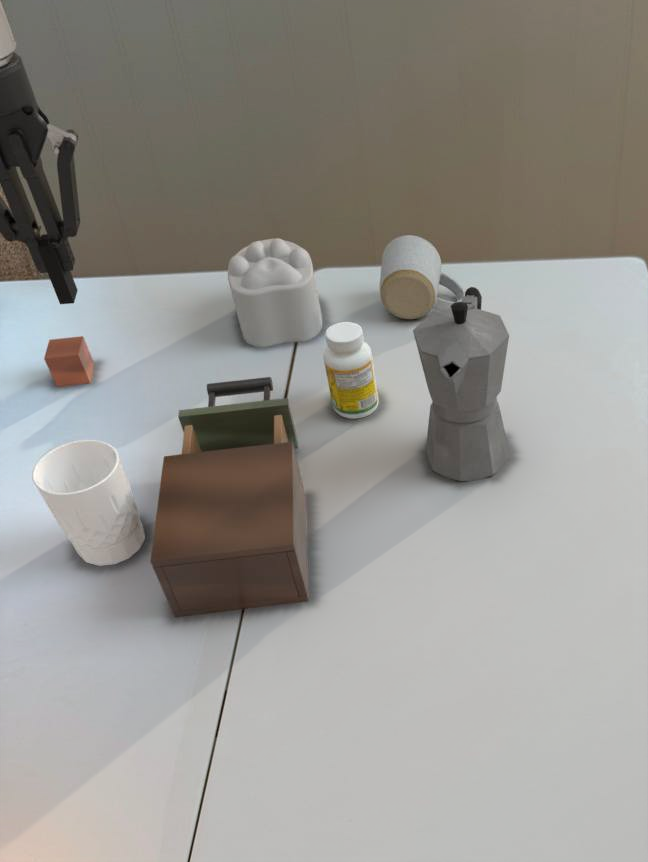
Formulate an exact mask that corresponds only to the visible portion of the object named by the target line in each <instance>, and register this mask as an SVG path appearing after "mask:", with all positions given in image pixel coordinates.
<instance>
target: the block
mask: <svg viewBox="0 0 648 862" xmlns="http://www.w3.org/2000/svg"><path fill="white" fill-rule="evenodd" d="M43 359H44V362H45V364H46V366H47V368H48V371H49V373H50V375H51V377H52V379H53V381H54V383H55V386H56V387H57V388H59V387H69V386H77V385H79V386H80V385H87V384H91V383H92V378H93V373H94V369H95V365H96V364H95V362H94V359H93V356H92V354H91V352H90V350H89V347H88V344H87V342H86V340H85V337H84V335H80V336H72V337H63V338H61V337H60V338H53V339H49V340H48V343H47V347H46V350H45V353H44V357H43Z"/></svg>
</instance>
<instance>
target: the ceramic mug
mask: <svg viewBox="0 0 648 862" xmlns="http://www.w3.org/2000/svg"><path fill="white" fill-rule="evenodd" d="M439 285H440V286H443V287H444V288H447V289H448V290H449V291H451V292H452V293H453V294H454V295H455V296H456V301H448V300H446V299H443V298H439V297H438V292H439ZM465 292H466V291H465V289H464V287H463V286H462V285H461V284H460V283H459V282H458V281H456V280H455V279H454V278H453V277H451V276H449V274H445V273H443V272H442V260H441V255H440V253H439V252H438V250H437V249H436V247H435V246H434V245H433V243H431V242H430V241H428V240H427V239H424V238H423V237H421V236H417V235H410V234H407V235H401V236H398V237H396V238H394V239H392V240H391V241H390V242H389V243H388V244H387V245H386V246H385V248H384V250H383V252H382V256H381V265H380V278H379V296H380V299H381V302H382V304H383V306H384V307H385V309H386V310H387V311H388V312H389V313H390V314H392V315H393V316H395V317H397V318H400V319H403V320H416V319H420V318H422V317H424V316H426V315H427V314H428V313H430V311H431V310H432V309H436V310H438V311H442V310H448V309H451V305H452V304H453V303H455V302H461V301H462V298H463V296H465Z"/></svg>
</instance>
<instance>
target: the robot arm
mask: <svg viewBox="0 0 648 862" xmlns="http://www.w3.org/2000/svg"><path fill="white" fill-rule="evenodd" d="M16 49H17V42H16V39H15V37H14V34H13V30H12V28H11V26H10V23H9V21H8V17H7V15H6V12H5V10H4V7H3V4H2V1H1V0H0V187H1V189H2V192H3V194H4V197H5V199H6V202H7V203H6V202H5V200H4V199H3V196H1V195H0V235H1V236H2V238H3V239H4V240H5V241H7V242H10V243H11V242H15V241H17V242H20V243H23V244H24V245H25V246H26V247H27V249H28V250H29V253H30V256H31V259H32V261H33V263H34V266H35V268H36V270H37V272H39V273H40V274H47V276H48V278H49V280H50V282H51V285H52V288H53V290H54V292H55V295H56V297H57V300H58V302H59V305H70V304H75V301H76V297H77V294H78V287H77V284H76V282H75V280H74V277H73V274H72V271H74V269H75V265H76V257H75V255H74V253H73V249H72V247H71V244H70V241H69V238H74V237H76V236H77V234H78V231H79V228H80V224H81V213H80V205H79V204H80V203H79V194H78V185H77V173H76V165H75V152H76V151H75V150H76V149H77V145H78V141H79V134H78V133H77V131H76V130H74V129H67V130H66V131H65V130H63V129H62V128H59V127H57V126H55V125H53V124H52V123H50V120H49V118H48V116H47V115H46V113H44V112H43V110H42V109H41V107H40V106H39V105H38V103H37V98H36V95H35V93H34V90H33V88H32V85H31V83H30V79H29V76H28V73H27V71H26V68H25V65H24V62H23V59H22V57H21V55H19V54H17V53H16V52H15V51H16ZM47 139H48V141H49V143H50V145H51V146H50V148H51V151H52V152H53V153H54V154H55V155H57V159H56V169H57V179H58V187H59V195H60V204H61V205H60V206H61V213H60V211H59V208H58V205H57V202H56V200H55V197H54V194H53V192H52V189H51V187H50V186H51V185H50V184H49V180H48V178H47V174H46V173H45V169H44V168H43V167H44V166H43V161H42V158H41V155H42V152H43V148H44V146H45V142H46V140H47ZM17 167H18V168H19V171H20V173H21V175H22V177H23V179H25V181H26V183H27V185H28V189H29V190H30V191H29V192H30V194H31V197H32V198H33V201H34V203H35V207H36V210H37V211H38V214H39V216H40V220H41V222H42V224H43V227H44V229H45V232H46V233H43V234H40V233H41V230H42V225H39V223H38V221H37V219H36V216H35V213H34V211H33V208H32V206H31V204H30V203H31V202H30V200H29V199H28V195H27V193H26V190H25V187H24V185H23V183H22V180H21V177H20V175H19V172H18V170H17ZM61 214H62V215H61Z"/></svg>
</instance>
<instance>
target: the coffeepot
mask: <svg viewBox="0 0 648 862" xmlns="http://www.w3.org/2000/svg"><path fill="white" fill-rule="evenodd" d="M464 292H465V296H463V298H462V301H461V302H457V301H454V302H455V303H453V304H452V305H451V309H448V310H442V311H440V310H438V311H433V312H431V313H430V314H429V315H428V316H427V317H425V319H423V320H422V321H421V322H420V323H419V324H418V325H416V327H414V328H413V330H412V333H413V336H414V341H415V343H416V347H417V351H418V355H419V356H418V357H419V360H420V363H421V367H422V371H423V374H424V375H423V376H424V379H425V383H426V386H427V390H428V393H429V396H430V399H431V401H432V402H431V404H430V406H429V416H428V425H427V433H426V434H427V435H426V443H425V444H426V445H425V452H426V454H427V458H428V463H429V465H430V467H431V470H432V472H434V473H436V474H438V475H440V476H442V477H444V478H446V479H450V480H453V481H459V482H473V481H479V480H483V479H486V478H488V477H491V476H494V475H496V473H498V472H499V471H500V470H501V469H502V468H503V467H504V465H505V464H506V462H507V461H508V459H509V458H510V457H511V453H510V448H509V443H508V440H507V435H506V430H505V425H504V421H503V416H502V412H501V409H500V405H499V402H498V396H499V394H501V391H502V385H503V380H504V374H505V373H504V372H505V366H506V359H507V353H508V347H509V341H510V340H509V339H510V334H509V332H508V330H507V327H506V325H505V323H504V321H503V319H502V317H501V315H500V314H496V313H493V312H489V311H487V310H483V309H482V302H483V301H482V299H483V297H482V295H481V291H480V290H479V289H478V288H477V287H475V286H469V287H468V288H467V289H466V290H465V291H464Z"/></svg>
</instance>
